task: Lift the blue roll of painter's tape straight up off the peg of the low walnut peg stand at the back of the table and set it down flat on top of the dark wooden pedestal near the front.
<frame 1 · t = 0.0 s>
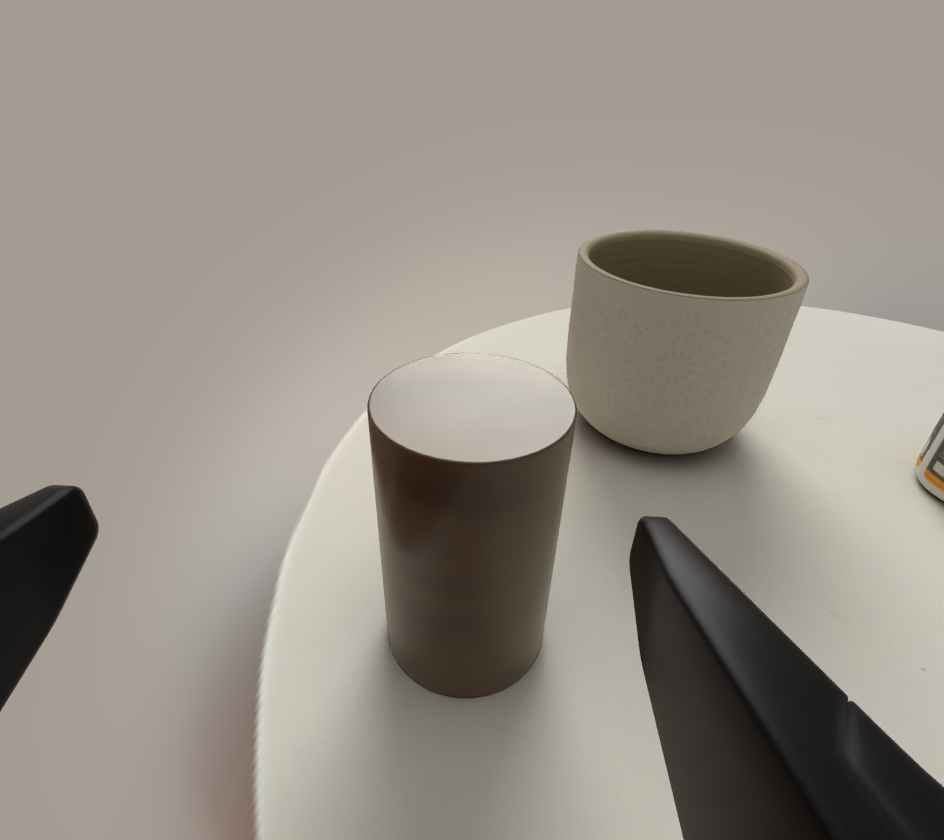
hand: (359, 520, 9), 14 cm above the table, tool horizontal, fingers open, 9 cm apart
planter: (649, 421, 38), on the table
pedestal: (465, 623, 24), on the table
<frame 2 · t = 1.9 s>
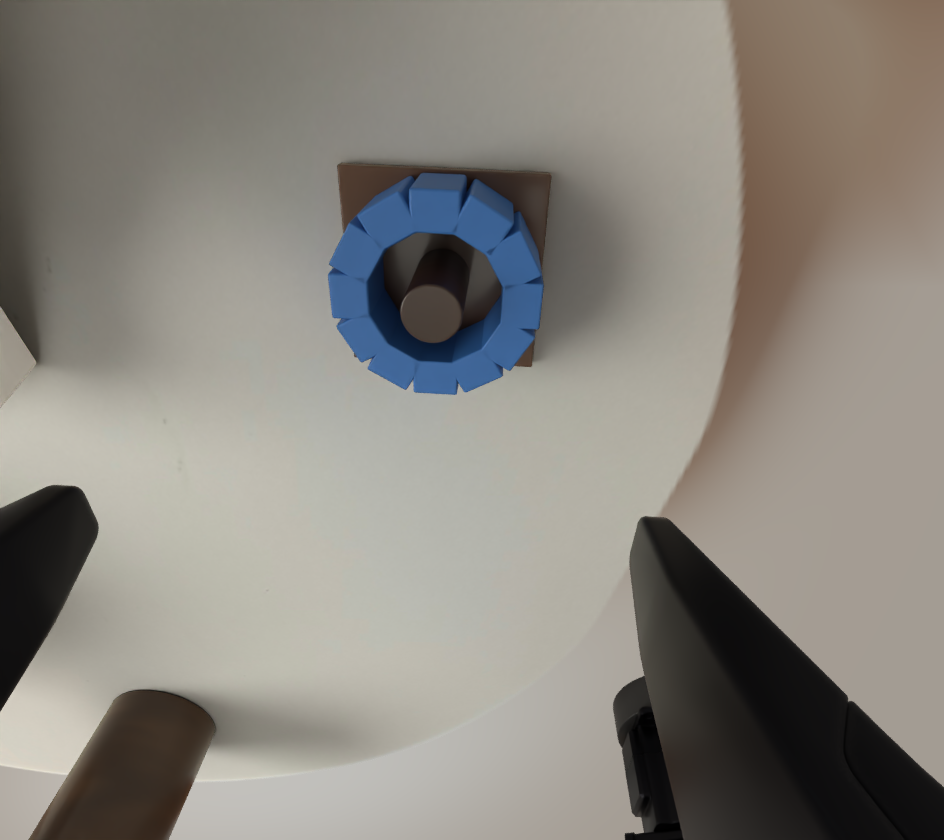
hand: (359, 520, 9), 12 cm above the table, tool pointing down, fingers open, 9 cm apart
tape roll: (443, 275, 19), resting on peg stand
peg stand: (444, 271, 19), on the table
pedestal: (164, 719, 36), on the table
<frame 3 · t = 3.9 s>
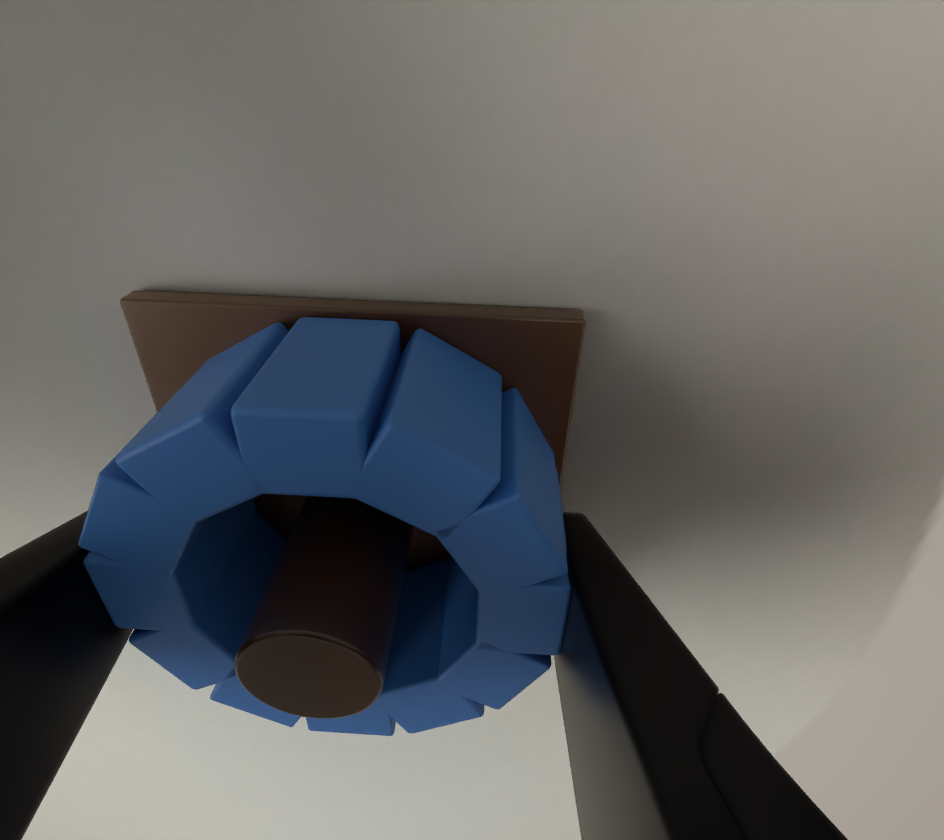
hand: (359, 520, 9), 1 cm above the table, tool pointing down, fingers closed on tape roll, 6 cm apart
tape roll: (366, 490, 10), resting on peg stand, touching gripper
peg stand: (372, 475, 10), on the table
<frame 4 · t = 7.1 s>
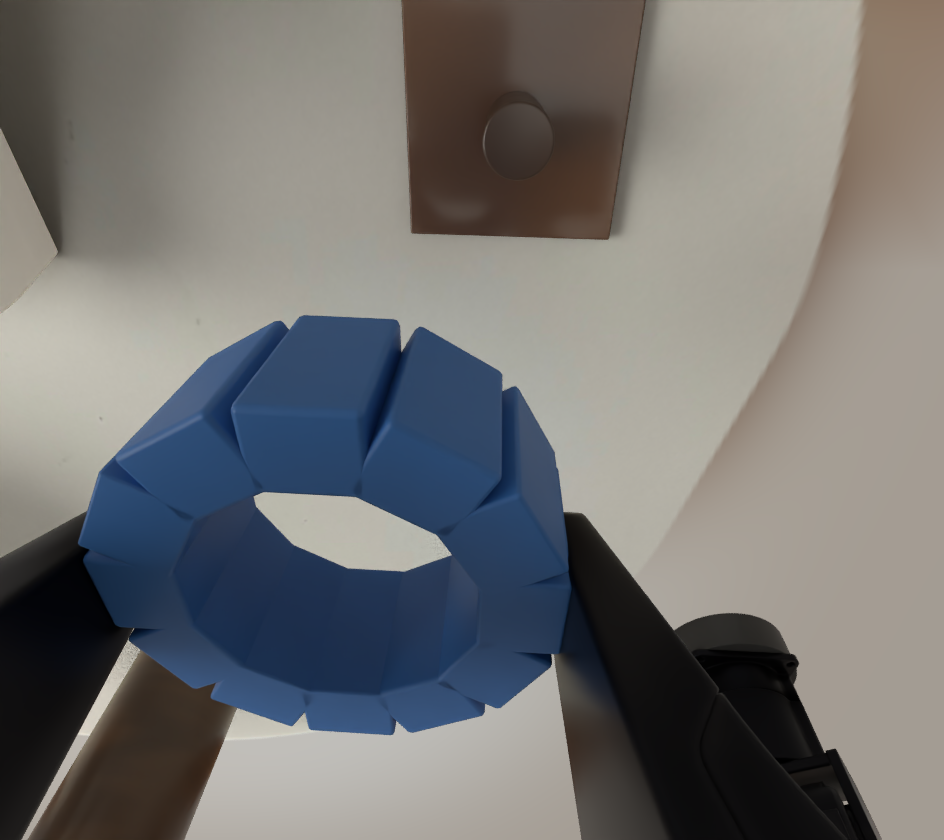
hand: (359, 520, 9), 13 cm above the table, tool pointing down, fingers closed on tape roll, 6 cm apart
tape roll: (367, 488, 10), point 12 cm above the table, touching gripper
peg stand: (515, 124, 17), on the table
pedestal: (193, 671, 35), on the table
when the fingers open (12 cm above the table, at t = 10.5 s): tape roll stays where it is, resting on pedestal.
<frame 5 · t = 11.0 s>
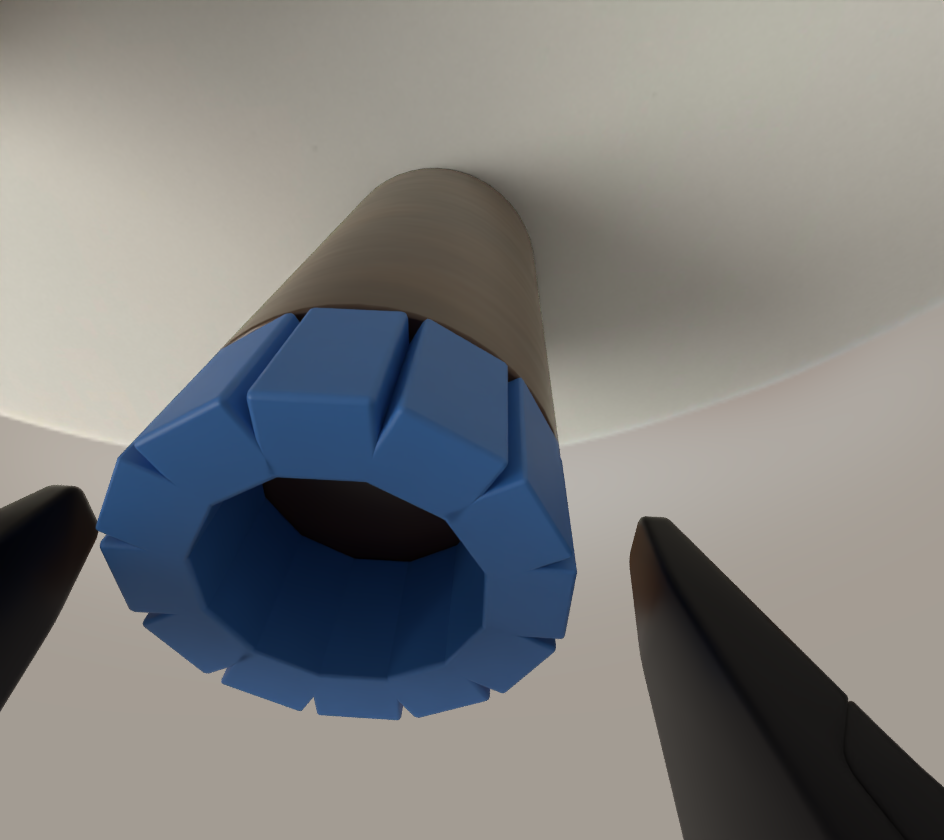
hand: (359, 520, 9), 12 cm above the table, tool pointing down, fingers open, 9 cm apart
tape roll: (374, 479, 10), point 11 cm above the table, touching pedestal
pedestal: (438, 271, 19), on the table
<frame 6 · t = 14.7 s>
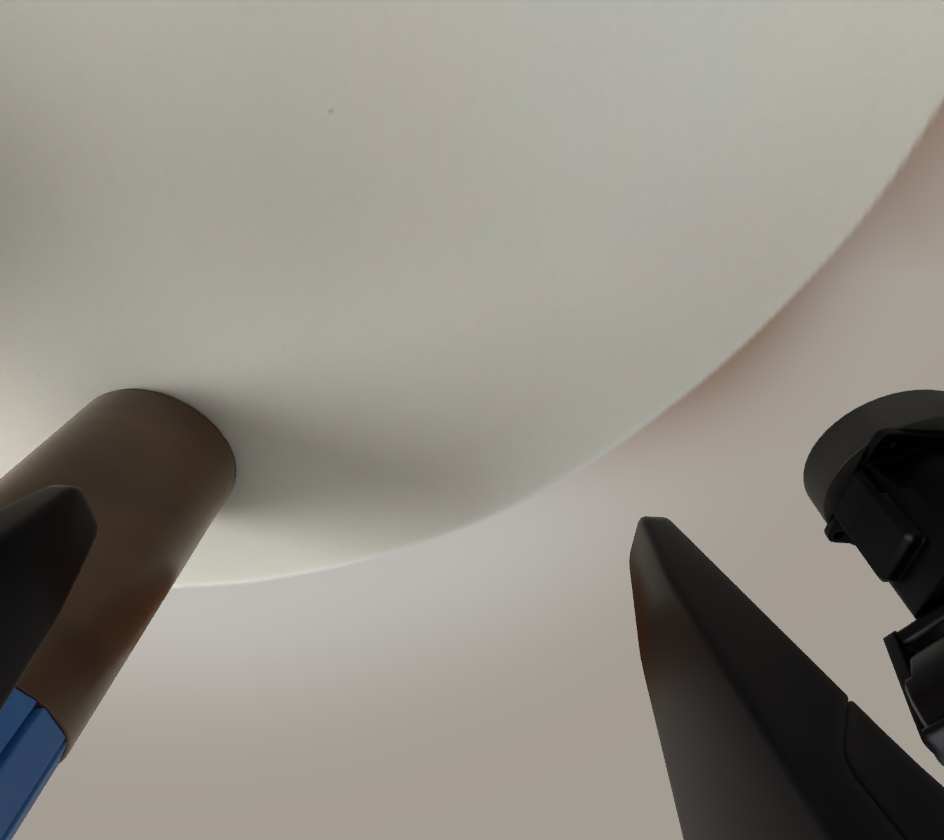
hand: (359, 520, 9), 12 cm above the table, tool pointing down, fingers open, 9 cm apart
pedestal: (159, 455, 24), on the table
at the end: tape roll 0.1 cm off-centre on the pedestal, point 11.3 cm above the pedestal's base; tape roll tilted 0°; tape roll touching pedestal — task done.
